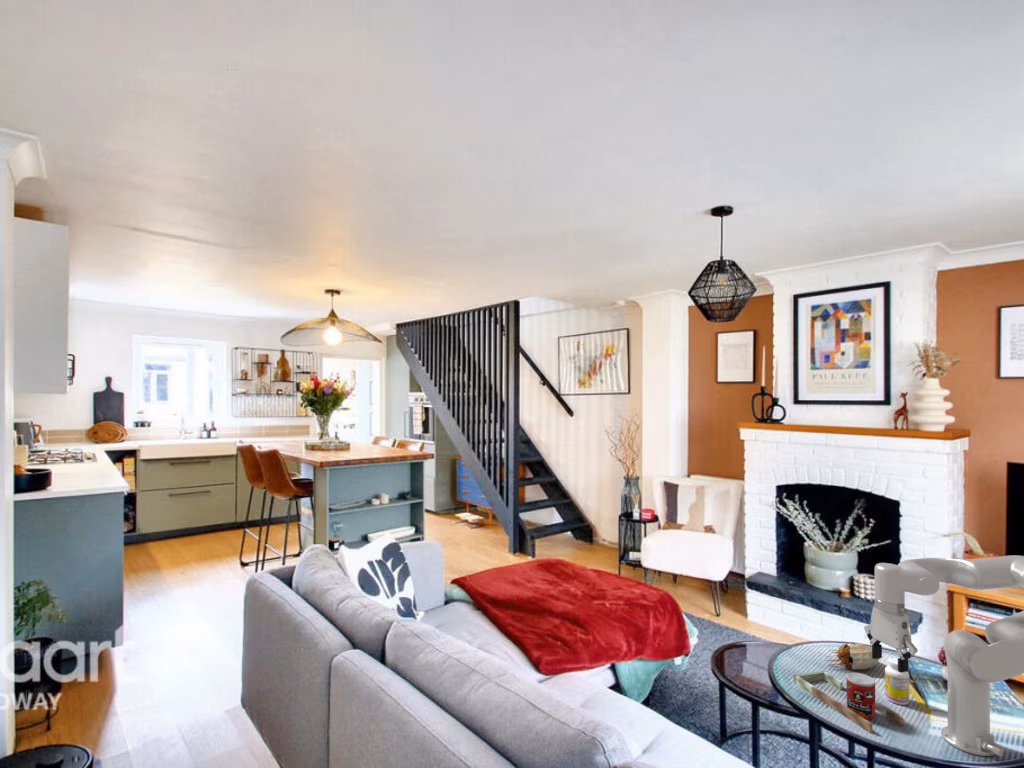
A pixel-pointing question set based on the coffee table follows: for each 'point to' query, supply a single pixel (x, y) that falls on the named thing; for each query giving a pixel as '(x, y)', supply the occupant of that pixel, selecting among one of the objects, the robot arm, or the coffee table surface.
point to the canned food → (861, 695)
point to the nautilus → (854, 656)
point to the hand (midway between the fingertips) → (889, 664)
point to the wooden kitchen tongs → (822, 675)
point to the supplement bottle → (896, 683)
